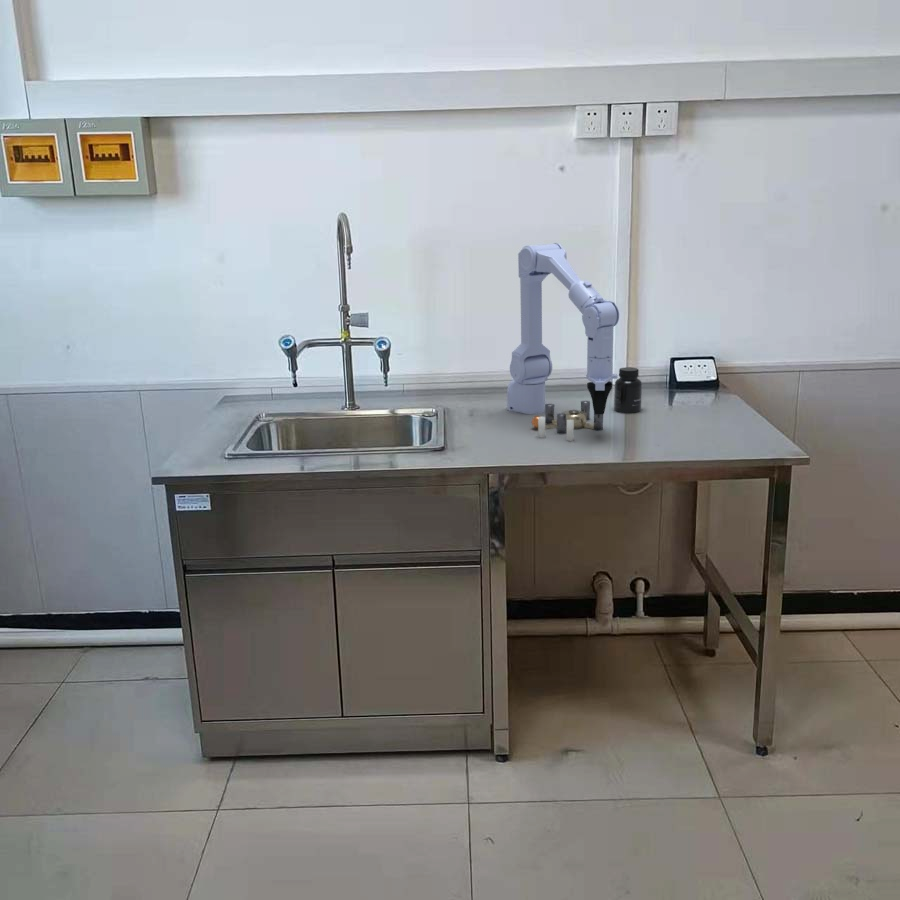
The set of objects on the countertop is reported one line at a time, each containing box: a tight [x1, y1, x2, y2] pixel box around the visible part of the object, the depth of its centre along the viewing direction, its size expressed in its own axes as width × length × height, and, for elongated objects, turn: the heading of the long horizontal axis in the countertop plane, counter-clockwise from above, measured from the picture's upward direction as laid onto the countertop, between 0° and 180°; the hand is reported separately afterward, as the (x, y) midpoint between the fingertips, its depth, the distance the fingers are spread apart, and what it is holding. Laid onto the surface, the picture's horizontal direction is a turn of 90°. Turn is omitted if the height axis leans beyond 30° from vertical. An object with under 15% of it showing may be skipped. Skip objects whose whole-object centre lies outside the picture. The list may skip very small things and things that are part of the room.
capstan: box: [531, 400, 604, 435], centre depth 214 cm, size 16×16×4 cm
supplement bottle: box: [613, 367, 643, 415], centre depth 225 cm, size 7×7×12 cm
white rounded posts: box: [537, 415, 575, 442], centre depth 206 cm, size 9×6×5 cm
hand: (599, 413), depth 205 cm, fingers closed
